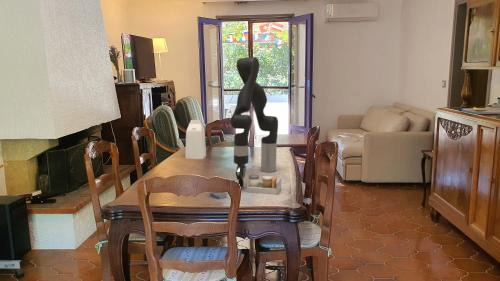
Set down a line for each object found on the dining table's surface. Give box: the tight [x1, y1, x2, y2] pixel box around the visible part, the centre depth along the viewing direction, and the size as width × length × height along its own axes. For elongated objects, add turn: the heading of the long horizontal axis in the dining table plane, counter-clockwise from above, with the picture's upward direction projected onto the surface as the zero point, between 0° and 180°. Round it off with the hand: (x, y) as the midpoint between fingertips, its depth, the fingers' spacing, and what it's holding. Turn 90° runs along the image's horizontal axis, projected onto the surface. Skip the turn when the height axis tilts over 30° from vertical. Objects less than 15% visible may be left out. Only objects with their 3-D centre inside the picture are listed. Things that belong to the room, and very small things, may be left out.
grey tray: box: [246, 176, 282, 195], centre depth 202 cm, size 11×16×6 cm
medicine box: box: [209, 192, 227, 200], centre depth 191 cm, size 8×4×9 cm, turn 45°
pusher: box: [272, 176, 278, 189], centre depth 201 cm, size 8×1×6 cm, turn 167°
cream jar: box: [248, 174, 260, 188], centre depth 203 cm, size 5×5×7 cm
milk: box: [184, 119, 207, 160], centre depth 276 cm, size 12×12×26 cm
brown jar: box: [261, 175, 274, 188], centre depth 201 cm, size 5×5×7 cm
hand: (241, 186), depth 205 cm, fingers closed
